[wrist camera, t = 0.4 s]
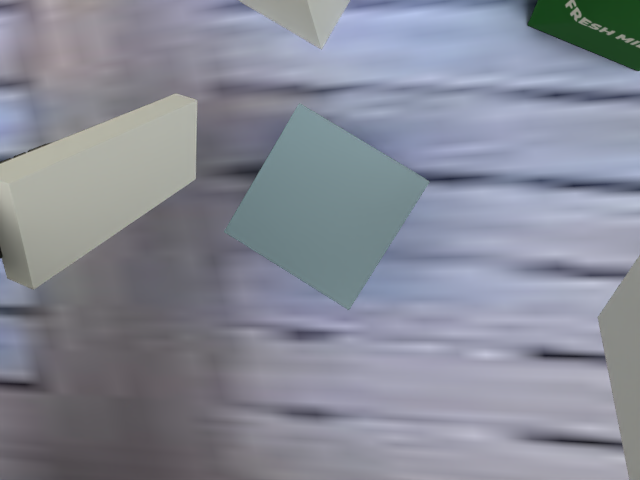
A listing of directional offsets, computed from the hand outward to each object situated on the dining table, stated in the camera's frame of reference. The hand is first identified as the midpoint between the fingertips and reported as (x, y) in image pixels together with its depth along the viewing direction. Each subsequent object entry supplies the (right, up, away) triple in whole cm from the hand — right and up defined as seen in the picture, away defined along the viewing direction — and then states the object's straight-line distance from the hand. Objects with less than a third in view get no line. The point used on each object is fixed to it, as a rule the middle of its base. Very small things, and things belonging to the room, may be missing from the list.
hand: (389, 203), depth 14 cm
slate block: (-1, +1, +16) cm, 16 cm away
